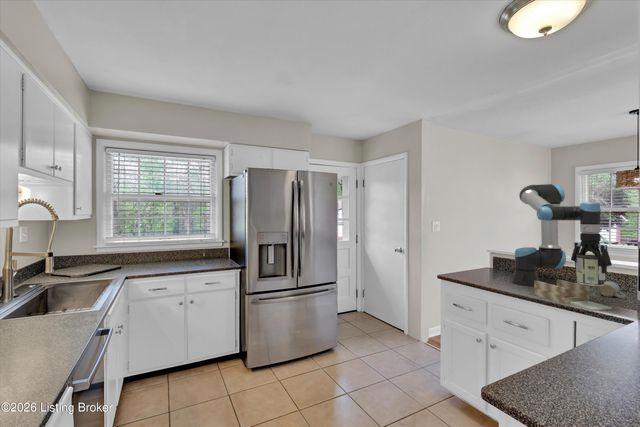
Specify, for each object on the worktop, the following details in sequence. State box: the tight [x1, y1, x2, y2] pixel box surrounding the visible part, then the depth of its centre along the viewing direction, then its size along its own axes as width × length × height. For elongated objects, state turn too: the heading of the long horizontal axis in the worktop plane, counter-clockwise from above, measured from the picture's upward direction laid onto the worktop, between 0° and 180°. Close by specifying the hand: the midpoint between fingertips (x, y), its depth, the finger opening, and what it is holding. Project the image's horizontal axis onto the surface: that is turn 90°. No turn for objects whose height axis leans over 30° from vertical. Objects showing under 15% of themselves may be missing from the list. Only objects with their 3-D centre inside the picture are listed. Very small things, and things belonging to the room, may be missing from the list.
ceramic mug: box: [598, 280, 627, 300], centre depth 166 cm, size 11×8×8 cm
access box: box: [533, 278, 590, 305], centre depth 164 cm, size 17×16×8 cm
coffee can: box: [576, 254, 605, 287], centre depth 149 cm, size 10×10×14 cm
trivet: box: [569, 300, 613, 311], centre depth 150 cm, size 11×11×1 cm
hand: (590, 277), depth 149 cm, fingers closed on coffee can, 10 cm apart
